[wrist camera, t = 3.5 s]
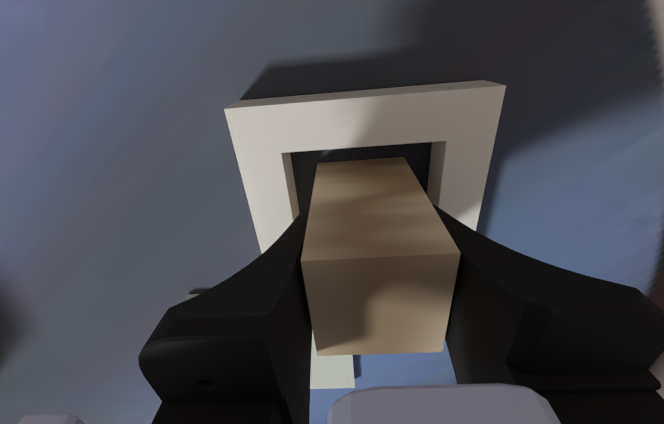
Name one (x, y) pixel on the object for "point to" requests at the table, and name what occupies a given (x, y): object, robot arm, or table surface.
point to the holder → (367, 142)
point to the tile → (327, 368)
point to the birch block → (376, 261)
